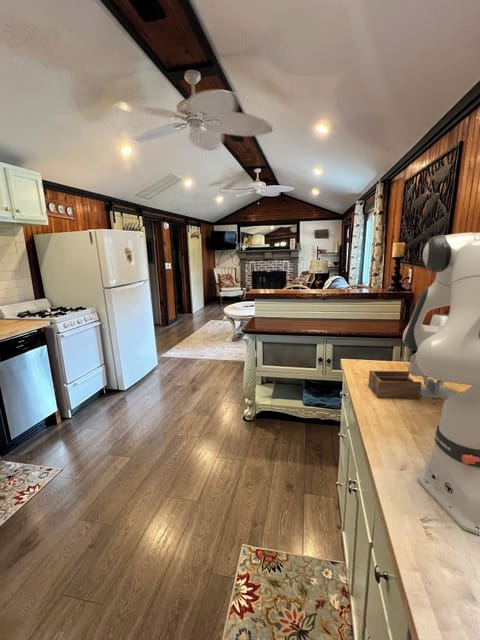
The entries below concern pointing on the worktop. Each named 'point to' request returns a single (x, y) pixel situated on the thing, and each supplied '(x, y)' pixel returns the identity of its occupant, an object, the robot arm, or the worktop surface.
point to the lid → (435, 391)
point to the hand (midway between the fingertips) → (433, 385)
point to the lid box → (394, 385)
